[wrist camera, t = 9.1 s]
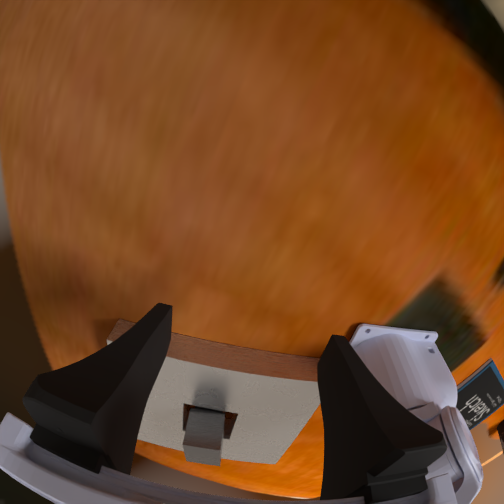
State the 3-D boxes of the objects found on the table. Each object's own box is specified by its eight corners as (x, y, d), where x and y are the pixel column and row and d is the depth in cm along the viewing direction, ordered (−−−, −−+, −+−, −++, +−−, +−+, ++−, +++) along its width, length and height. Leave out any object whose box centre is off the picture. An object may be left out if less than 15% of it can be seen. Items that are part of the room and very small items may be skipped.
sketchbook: (509, 392, 32) (513, 399, 30) (388, 470, 43) (390, 478, 42) (489, 355, 27) (495, 364, 25) (327, 458, 38) (328, 468, 36)
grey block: (228, 390, 29) (220, 450, 22) (226, 411, 31) (220, 465, 24) (195, 385, 29) (182, 444, 22) (197, 407, 31) (186, 460, 24)
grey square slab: (328, 359, 26) (332, 383, 23) (275, 446, 35) (275, 464, 32) (119, 318, 25) (106, 339, 22) (136, 420, 34) (130, 436, 31)
